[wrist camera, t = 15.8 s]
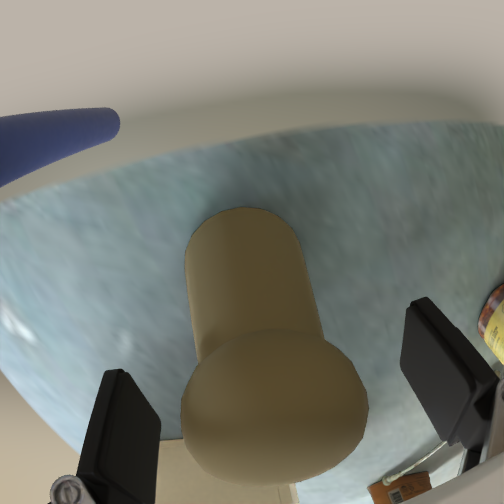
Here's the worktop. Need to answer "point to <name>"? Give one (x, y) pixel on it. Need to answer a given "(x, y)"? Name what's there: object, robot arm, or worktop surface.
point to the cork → (263, 359)
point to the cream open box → (207, 483)
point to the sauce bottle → (493, 323)
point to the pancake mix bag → (400, 488)
